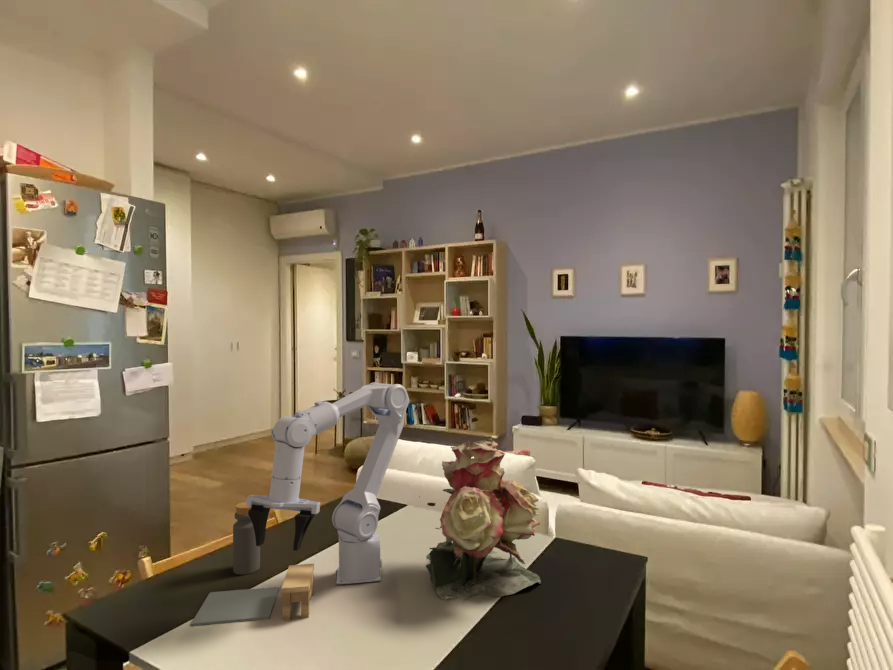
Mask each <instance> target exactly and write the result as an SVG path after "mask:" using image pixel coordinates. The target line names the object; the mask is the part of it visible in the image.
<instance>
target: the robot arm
mask: <svg viewBox="0 0 893 670" xmlns="http://www.w3.org/2000/svg"><path fill="white" fill-rule="evenodd" d="M410 402H411V401H410V398H409V394H408V391H407V389H406V388H405V387H404V385H402V384H399V383H395V384H391V383H381V382H375V381H374V382H371V383H369V384H364V385H363V386H362V387H360V388H359V389H357V390H355V391H353V392H351V393H350V394H347V395H346V396H344V397H342V398H340V399H338V400H337V401H335V402H333V403H331V402H329V401H322V400H318V401H314V405H313V406H312V407H311V406H310V407H309V408H306V409H304V410H297V411H295V414H294V415H293V416H290V415H289V416H288V415H285V416H281V418H279V419H277V422H275V424H274V425H273V428H271V430H270V435H271V438H272V439H273V441H274V455H273V461H272V462H273V463H272V472H271V480H270V487H269V495H262V494H261V495H260V494H251V495H247V497H246V502H247V503H246V506H248V507H251V509H250V510H249V511H248V515H249V517H250V519H251V522H252V524H253V528H254V532H255V538H256V546H260V547H261V546H262V545H263V544H265V539H266V532H267V530H266V529H267V523H268V518H269V515H270V511H271V509H275V510H276V509H277V510H282V511H285V510H286V511H293V512H297V514H295V515H294V528H295V529H294V539H293V546H292V547H293V550H292V551H293V552H294V551H296V552H297V551H298V550H300V549H301V548H302V543H303V540H304V538H305V535H306V532H307V530H308V528H309V526H310V524H311V523H312V521H313V519H314V517H316V515H317V514H319V513H320V510H321V509H320V508H321V501H313V500H310V499H305V498H300V490H301V481H302V473H303V463H304V458H305V457H304V455H305V447H306V446H307V445H308V444H309V443H310V442H311V440H312V438H313V437H315V436H317V435H319V434H321V433H322V432H325V431H328V430H329V429H331V428H332V427H335V426H336V425H337V423H338V421H339V418H341V417H343V416H345V415H349V414H350V413H353V412H355V411H357V410H360V409H362V408H364V407H367V408H368V409H369V410H370V412H371V413H372V414H373V415H374V417H375V418H376V420H377V423H378V427H377V430H376V433H375V435H374V436H373V437H374V438H373V440H372V442H371V445H370V447H369V450H368V453H367V454H366V458H365V461H364V463H363V465H362V466H361V469H360V472H359V474H358V477H357V479H356V481H355V484H354V487H353V489H350V491H348V492H346V493H345V494H344V495H343V497H342V499H341V501H340V502H339V504H337V505H336V507H335V508H334V510H333V513H332V517H331V521H332V526H333V527H334V528H335V529H337V535H338V568H337V573H336V582H335V583H336V585H349V584H361V583H371V582H380V581H381V579H382V578H381V569H382V568H383V567H382V565H383V564H382V563H383V561H382V558H381V535H380V534H379V533H375V532H376V530H377V528H378V525H379V524H378V523H379V515H380V511H381V505H380V503H379V501H378V499H377V496H378V493H379V491H380V488H381V485H382V482H383V480H384V477H385V475H386V472H387V470H388V466H389V464H390V462H391V459H392V457H393V454H394V451H395V449H396V447H397V444H398V441H399V439H400V436H401V434H402V432H403V428H404V425H405V424H404V423H405V415H406V411H407V408H408V406H409V403H410ZM361 506H362V507H361Z"/></svg>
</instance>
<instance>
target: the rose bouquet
mask: <svg viewBox="0 0 893 670" xmlns="http://www.w3.org/2000/svg"><path fill="white" fill-rule="evenodd" d="M498 447H499V445H498V442H495V440H493V439H492V438H491V437H490V438H486V439H485V440H478V441H469V439H468V441H467V442H462V444H460V445H456V446H451V447H450V449H451V451H452V452H453V453H454V455H455V458H456V459H455V461H453V460H451V461H444V460H442V461H441V466H442V470H443V471H444V472H443V474H444V477H445V479H446V480H447V482H448V485H449V487H451V488H444V489H442V491H443V492H445V493H447V494H450V496H449V498H448V500H447V502H445V505H444V507H443V510H442V513H441V517H440V518H439V521H440V526H439V527H435V528H434V529H435V530H436V529H437V530H440V531H441V530H442V531H441V533H442V536H444V537H445V541H443V542H438V543H437V545H436V547H434V546H433V547H429V550H430V552H429V553H428V554H427V555H426V561H427V560H429V562H430V563H428V564H427V563H426V564H425V567H426V569H427V570H428V572H429V575H430V576H429V577H430V582H431V586H432V588H433V589H435V592H436V593H437V596H438V597H439V598H440V599H442V600H443V601H446V600H447V601H450V600H454V599H458V596H460V597H462V601H461V602H462V604H464V602H463V601H465V600H467V599H470V598H471V597H474V596H476V595H479V594H483V595H487V596H491V597H494V598H499V597H504V596H509V595H514V594H516V593H518V592H520V591H522V590H523V589H527V587H531V586H533V585H534V584H536V583H537V584H539V585H540V584H542V581H541V578H540V575H538V574H537V573H536V572H533V571H531V570H529V569H528V568H526V567H524V566H523V565H526V563H525V561H524V559H522V558H521V555H520V553H519V552H518V550H517V545H516V543H513V541H515V540H528V539H530V538H531V537H532V536H533V537H534V536H535V535H536V534H535V532H536V528H535V527H536V526H539V525H541V522H539V521H538V520H536V519H535V517H536V516H539V513H538V512H537V511H538V510H540V508H539V506H538V505H536V504H535V503H538V502H539V500H540V499H539V498H537V496H536V495H535V494H533V493H532V492H530V491H528V489H527V488H525V487H524V485H523V484H522V483H520V482H518V481H516V480H504V479H503V477H504V475H505V470H504V469H505V468H504V467H503V468H502V467H501V463H502V460H503V459H504V457H505V455H506V452H504V451H502V450H500V449H497V448H498ZM473 457H474V458H473ZM418 497H419V499H420V497H421V496H420V495H419V496H418ZM426 505H427V506H429V507H435V506H436V502H427V504H426ZM536 510H537V511H536ZM494 548H496V549H498V550H501V551H502V552H503V553H508V554H509V558H508V559H507V558H503V557H502V556H496V555H497V554H498V552H497V551H495V550H494ZM491 555H493V556H491ZM494 556H495V557H494ZM512 556H513V557H512ZM516 559H517V561H516ZM519 563H521V564H522V565H520V564H519ZM481 571H482V572H484V577H483V578H482V579H481V580H480V581H476V580H478V578H479V576H478V574H479V573H481ZM470 581H476V582H473V583H470V584H469V585H468V588H467V589H465V587H466V586H467V584H468V583H469V582H470Z"/></svg>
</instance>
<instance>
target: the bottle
mask: <svg viewBox="0 0 893 670" xmlns="http://www.w3.org/2000/svg"><path fill="white" fill-rule="evenodd" d="M246 503H247V501H244V502H239V503H237V504H236V505H235V511H236V512H234V519H235V520H237V521H235V522H234V523H233V525H232V565H233V567H232V568H233V569H232V571H233V573H234V574H236V575H239V576H241V575H242V576H243V575H249V574H252V573H255V572H258V571H259V570H260V568H261V545H260V546H256V538H255V532H254V528H253V524H252V522H251V519H250V517H249V515H248V511H249V510H250V509H251V507H248V506H246Z"/></svg>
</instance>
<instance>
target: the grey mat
mask: <svg viewBox="0 0 893 670" xmlns="http://www.w3.org/2000/svg"><path fill="white" fill-rule="evenodd" d="M279 591H280V586H270V587H269V586H268V587H257V588H248V589H246V588H245V589H235V590H233V589H232V590H225V591H224V590H223V591H222V590H221V591H211V592H209V593H208V595H207V597H206V598H205V600H204V601H203V603H202V605H201V606H200V608H199V610H198V611H197V612H196V614H195V616H194V618H193V619H192V621H191V623H190V627H196V626H204V625H205V624H207V625H215V624H217V623H218V624H223V623H224V624H227V623H228V624H229V623H236V621H239V622H247V621H259V620H270V617H271V615H270V614H272V612H271V611H273V609H272V608H274V605H275V602H276V599H277V597H278V593H279ZM226 622H227V623H226Z"/></svg>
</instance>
